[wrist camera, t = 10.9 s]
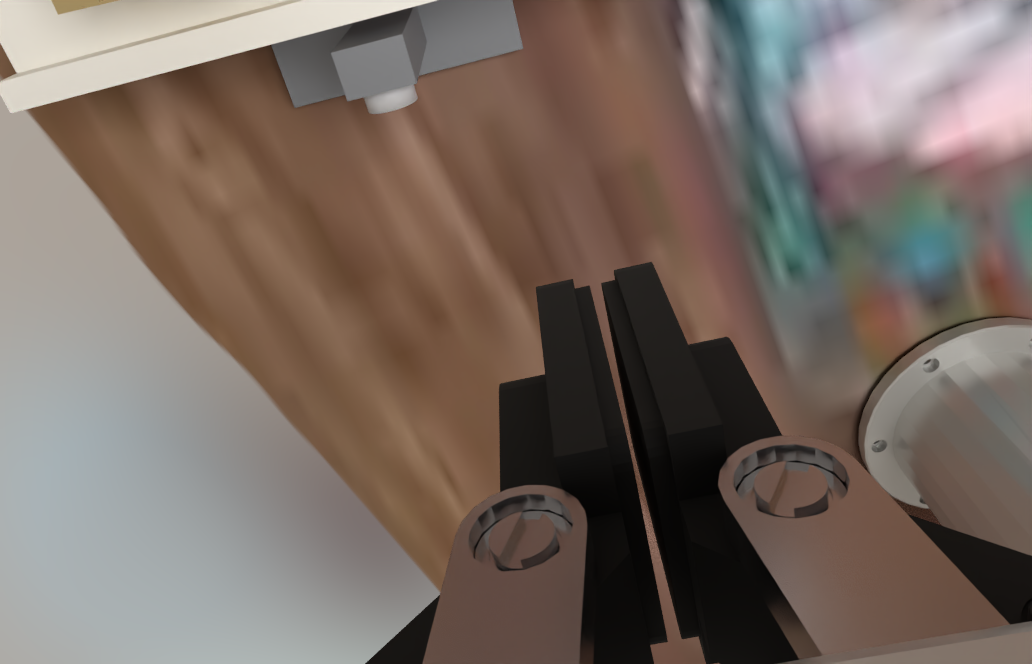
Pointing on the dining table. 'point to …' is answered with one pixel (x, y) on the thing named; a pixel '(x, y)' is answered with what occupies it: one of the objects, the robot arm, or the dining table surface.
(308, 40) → the balance stand
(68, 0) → the block
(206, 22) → the beam
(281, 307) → the dining table surface
